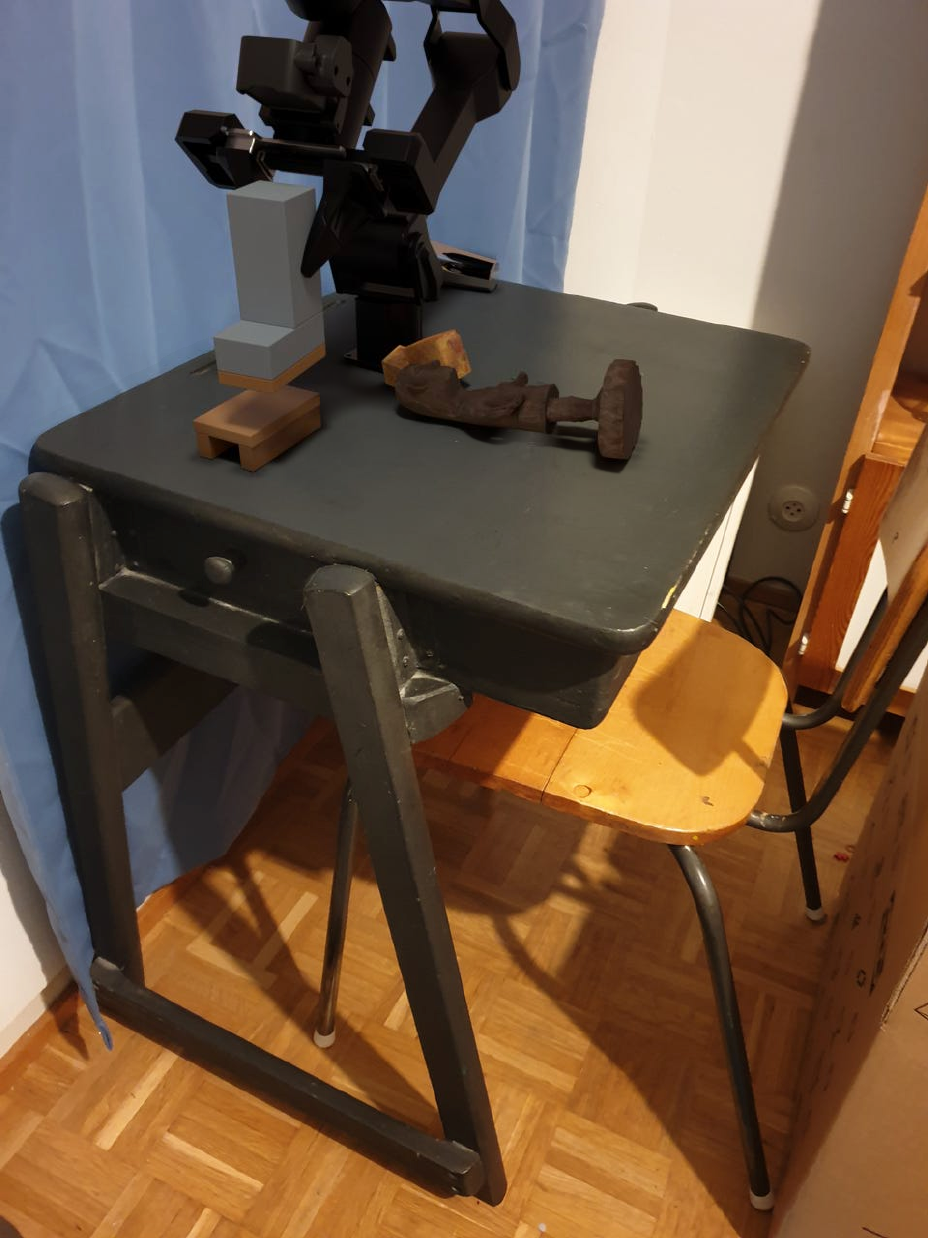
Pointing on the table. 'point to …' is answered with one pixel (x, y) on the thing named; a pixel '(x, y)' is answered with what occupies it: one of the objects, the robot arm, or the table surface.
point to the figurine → (530, 403)
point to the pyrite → (428, 355)
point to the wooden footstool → (258, 424)
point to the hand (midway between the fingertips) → (274, 270)
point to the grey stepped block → (271, 289)
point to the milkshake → (466, 268)
